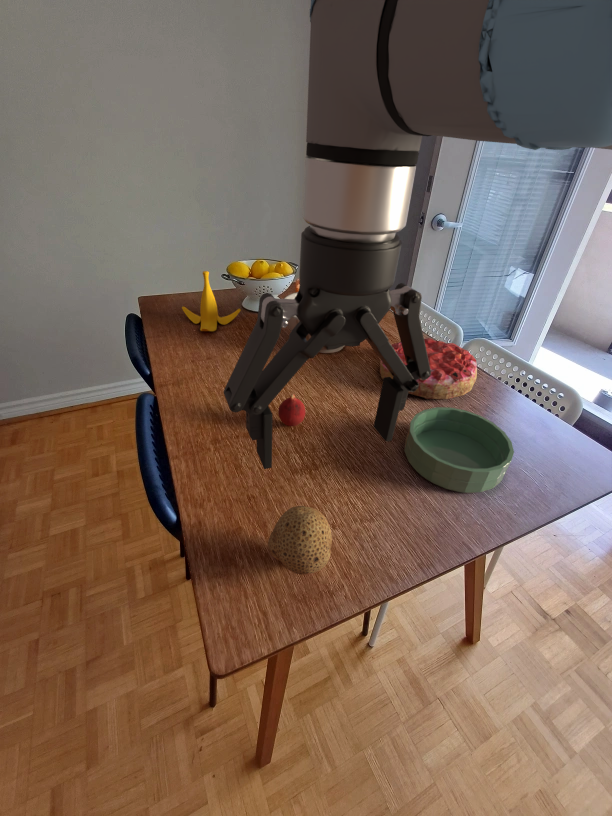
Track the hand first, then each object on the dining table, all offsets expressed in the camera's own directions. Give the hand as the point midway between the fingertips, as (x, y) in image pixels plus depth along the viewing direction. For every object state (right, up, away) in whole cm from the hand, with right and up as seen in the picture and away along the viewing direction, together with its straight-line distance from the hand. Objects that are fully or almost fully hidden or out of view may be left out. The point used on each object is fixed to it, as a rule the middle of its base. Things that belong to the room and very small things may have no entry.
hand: (326, 446), depth 42 cm
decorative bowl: (+3, +23, +79) cm, 83 cm away
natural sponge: (-3, -20, +19) cm, 27 cm away
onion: (-5, 0, +46) cm, 46 cm away
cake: (+30, +12, +66) cm, 74 cm away
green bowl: (+28, -6, +40) cm, 49 cm away
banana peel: (-33, +29, +84) cm, 95 cm away
